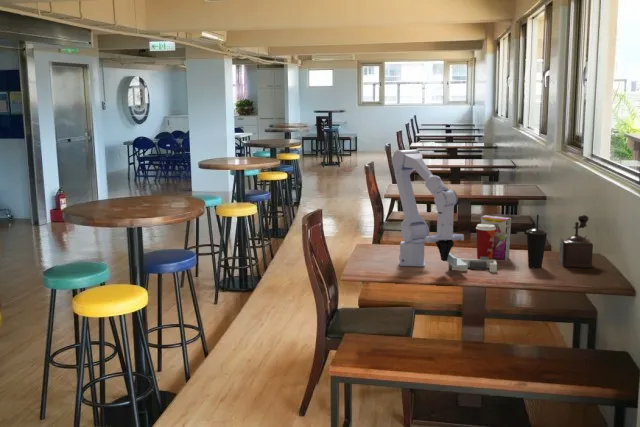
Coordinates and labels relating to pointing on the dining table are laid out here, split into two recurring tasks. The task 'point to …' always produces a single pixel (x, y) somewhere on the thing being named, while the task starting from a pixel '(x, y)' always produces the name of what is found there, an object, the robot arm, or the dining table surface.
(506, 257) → the candy bar box
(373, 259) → the dining table surface
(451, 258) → the cover
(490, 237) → the paper cup
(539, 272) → the dining table surface
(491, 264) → the pale grey rectangular block
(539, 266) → the drinking cup
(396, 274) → the dining table surface
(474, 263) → the gray tin can
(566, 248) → the manual coffee grinder
